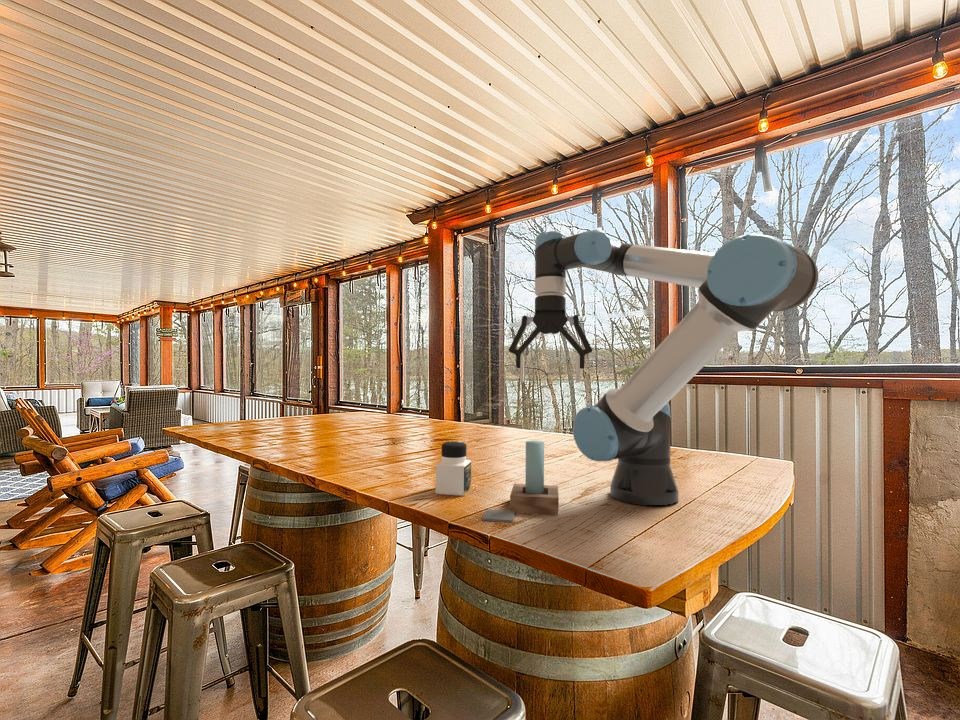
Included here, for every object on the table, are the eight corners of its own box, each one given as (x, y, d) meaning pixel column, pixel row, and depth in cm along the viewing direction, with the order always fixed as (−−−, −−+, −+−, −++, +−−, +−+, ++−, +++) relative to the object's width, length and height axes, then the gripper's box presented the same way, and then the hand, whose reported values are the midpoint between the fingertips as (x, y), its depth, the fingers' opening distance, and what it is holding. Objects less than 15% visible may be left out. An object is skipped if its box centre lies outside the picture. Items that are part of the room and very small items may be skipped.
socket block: (557, 501, 106) (557, 485, 106) (558, 515, 96) (558, 498, 96) (513, 498, 108) (513, 483, 108) (510, 512, 98) (510, 495, 98)
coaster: (514, 512, 98) (514, 510, 98) (512, 522, 92) (512, 520, 92) (486, 511, 99) (486, 509, 99) (482, 520, 93) (482, 518, 93)
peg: (543, 504, 104) (544, 441, 104) (543, 509, 100) (544, 444, 100) (525, 503, 104) (526, 440, 104) (524, 508, 100) (525, 443, 100)
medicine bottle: (464, 496, 110) (464, 445, 110) (435, 494, 111) (435, 443, 111) (471, 488, 117) (471, 440, 117) (443, 486, 118) (443, 439, 118)
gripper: (600, 297, 118) (600, 382, 117) (501, 299, 121) (501, 380, 121) (603, 293, 110) (603, 383, 110) (498, 294, 114) (497, 381, 114)
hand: (549, 382), depth 116 cm, fingers open, 13 cm apart
